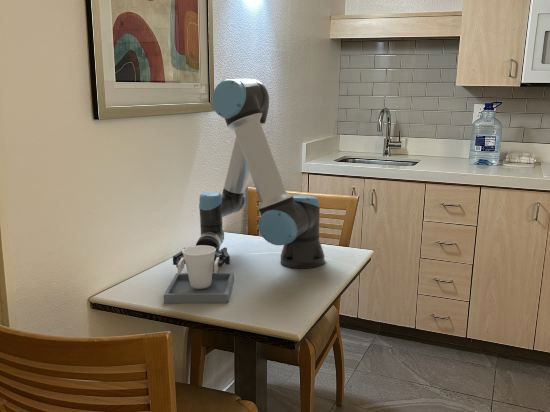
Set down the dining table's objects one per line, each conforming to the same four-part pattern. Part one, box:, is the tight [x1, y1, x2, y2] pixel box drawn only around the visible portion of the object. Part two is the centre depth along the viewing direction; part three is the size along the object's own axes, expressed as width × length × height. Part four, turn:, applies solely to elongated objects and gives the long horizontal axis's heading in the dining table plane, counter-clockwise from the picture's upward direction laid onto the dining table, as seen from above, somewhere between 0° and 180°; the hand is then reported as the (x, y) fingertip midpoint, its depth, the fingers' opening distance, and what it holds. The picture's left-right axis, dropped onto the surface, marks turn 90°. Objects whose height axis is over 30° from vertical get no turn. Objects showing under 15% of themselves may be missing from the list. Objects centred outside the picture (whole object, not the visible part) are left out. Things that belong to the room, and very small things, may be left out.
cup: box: [181, 245, 216, 289], centre depth 161 cm, size 10×10×11 cm
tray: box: [163, 272, 235, 304], centre depth 162 cm, size 18×18×2 cm
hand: (197, 268), depth 156 cm, fingers open, 10 cm apart
